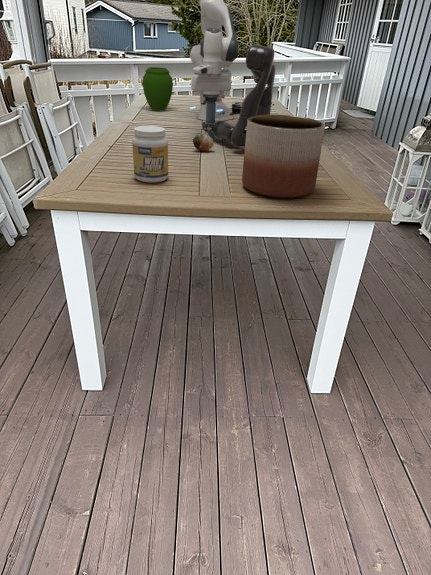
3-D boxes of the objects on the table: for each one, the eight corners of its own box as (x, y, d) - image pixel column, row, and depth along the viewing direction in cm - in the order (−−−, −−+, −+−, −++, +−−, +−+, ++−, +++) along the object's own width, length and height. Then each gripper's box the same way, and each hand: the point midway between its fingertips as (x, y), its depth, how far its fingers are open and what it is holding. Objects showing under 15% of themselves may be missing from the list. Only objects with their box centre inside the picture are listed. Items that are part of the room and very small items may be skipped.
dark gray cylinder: (215, 137, 208) (217, 98, 199) (212, 138, 205) (213, 99, 195) (207, 136, 210) (208, 97, 200) (203, 137, 206) (204, 98, 196)
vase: (143, 107, 275) (142, 66, 262) (173, 108, 277) (172, 67, 264) (142, 112, 259) (140, 68, 246) (173, 113, 261) (173, 70, 248)
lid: (207, 99, 201) (207, 95, 200) (218, 100, 200) (218, 96, 199) (204, 101, 196) (204, 96, 195) (215, 102, 195) (215, 97, 194)
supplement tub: (139, 184, 140) (136, 133, 131) (130, 174, 149) (127, 125, 140) (173, 181, 144) (172, 131, 135) (162, 172, 153) (161, 124, 144)
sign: (232, 108, 269) (231, 101, 294) (232, 113, 270) (230, 106, 296) (261, 109, 269) (257, 102, 295) (260, 114, 271) (257, 107, 296)
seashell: (212, 149, 186) (213, 131, 181) (214, 152, 181) (215, 133, 177) (191, 149, 184) (192, 130, 180) (193, 152, 180) (193, 133, 175)
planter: (325, 200, 135) (339, 130, 123) (251, 201, 131) (257, 128, 119) (299, 176, 156) (309, 114, 144) (234, 177, 152) (239, 113, 140)
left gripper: (228, 68, 198) (226, 99, 205) (189, 68, 189) (189, 100, 196) (234, 70, 193) (232, 101, 200) (195, 69, 184) (195, 103, 192)
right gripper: (237, 121, 195) (220, 115, 207) (211, 123, 188) (195, 116, 201) (236, 138, 199) (219, 130, 211) (210, 140, 192) (194, 132, 205)
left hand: (211, 101), depth 198 cm, fingers open, 7 cm apart
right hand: (207, 123), depth 206 cm, fingers closed on dark gray cylinder, 4 cm apart
